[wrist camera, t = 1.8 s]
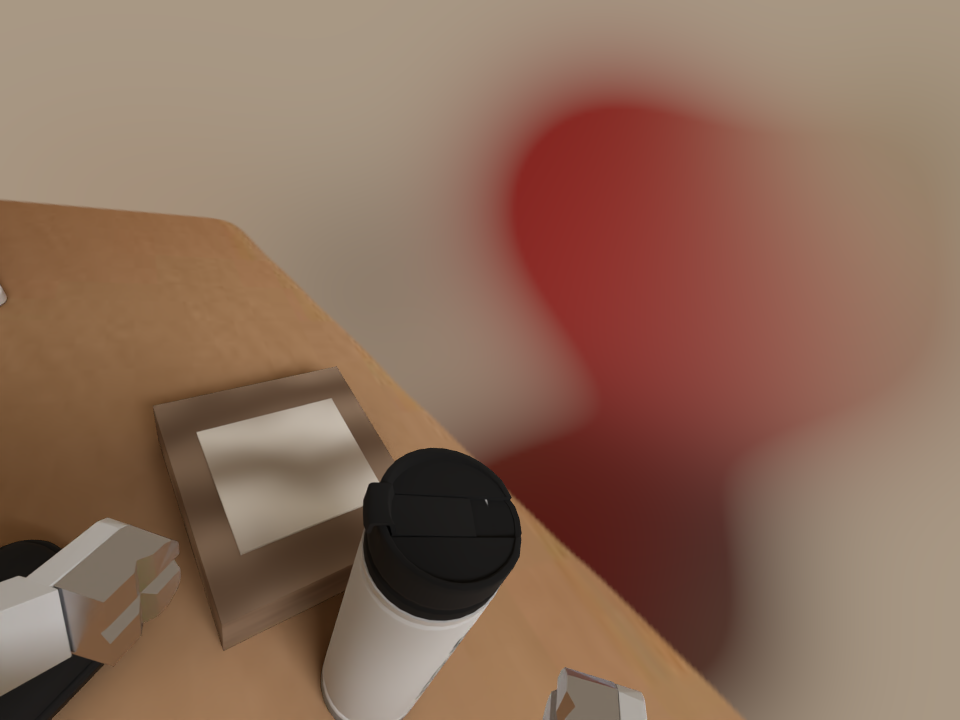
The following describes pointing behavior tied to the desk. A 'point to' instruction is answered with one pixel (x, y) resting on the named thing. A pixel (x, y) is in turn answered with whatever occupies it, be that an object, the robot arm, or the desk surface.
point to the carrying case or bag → (35, 702)
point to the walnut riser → (271, 493)
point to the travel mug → (417, 580)
